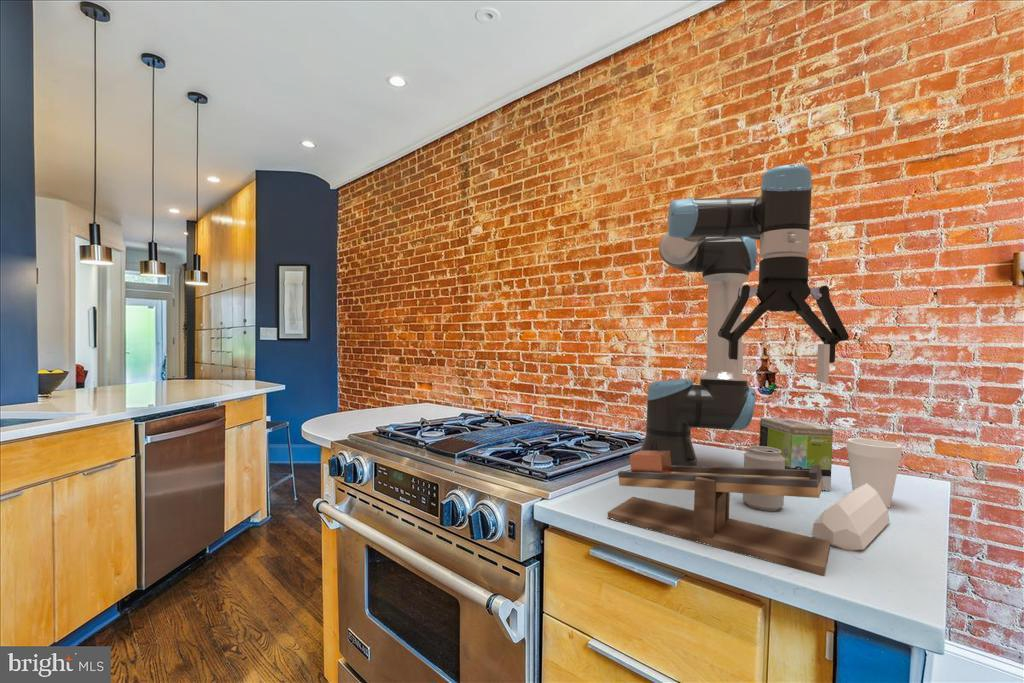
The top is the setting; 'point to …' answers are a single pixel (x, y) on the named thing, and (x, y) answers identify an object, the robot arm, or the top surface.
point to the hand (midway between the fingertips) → (779, 380)
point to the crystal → (853, 519)
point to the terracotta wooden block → (651, 461)
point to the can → (768, 460)
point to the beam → (733, 480)
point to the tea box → (800, 444)
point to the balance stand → (725, 528)
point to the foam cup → (874, 465)
